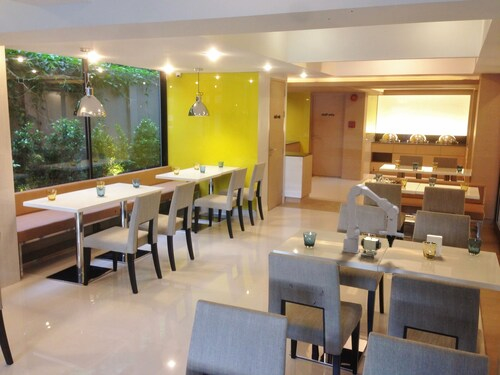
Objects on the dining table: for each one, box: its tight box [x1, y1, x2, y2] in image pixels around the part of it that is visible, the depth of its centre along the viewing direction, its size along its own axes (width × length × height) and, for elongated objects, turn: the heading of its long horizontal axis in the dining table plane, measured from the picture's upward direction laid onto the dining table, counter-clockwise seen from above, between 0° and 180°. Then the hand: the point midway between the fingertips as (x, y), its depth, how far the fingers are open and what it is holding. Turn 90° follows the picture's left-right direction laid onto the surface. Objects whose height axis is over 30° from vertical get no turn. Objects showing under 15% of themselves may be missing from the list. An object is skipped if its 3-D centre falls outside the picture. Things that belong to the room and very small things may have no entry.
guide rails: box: [360, 249, 377, 259], centre depth 283 cm, size 8×11×2 cm
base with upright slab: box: [426, 234, 443, 257], centre depth 287 cm, size 9×9×12 cm
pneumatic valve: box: [360, 237, 382, 257], centre depth 282 cm, size 6×12×12 cm, turn 54°
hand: (390, 247), depth 277 cm, fingers closed
